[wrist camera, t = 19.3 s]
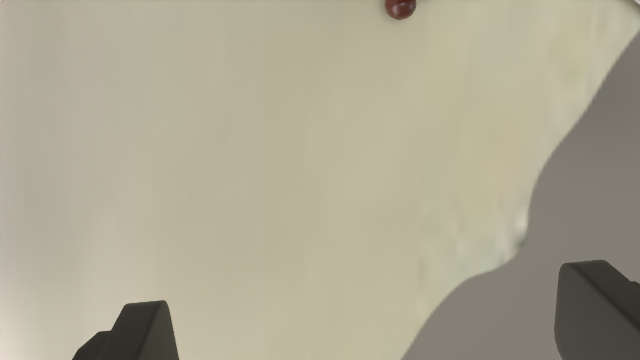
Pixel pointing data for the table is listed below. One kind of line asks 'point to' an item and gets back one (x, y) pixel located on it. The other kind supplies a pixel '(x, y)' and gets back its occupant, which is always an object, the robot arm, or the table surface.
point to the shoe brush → (400, 8)
